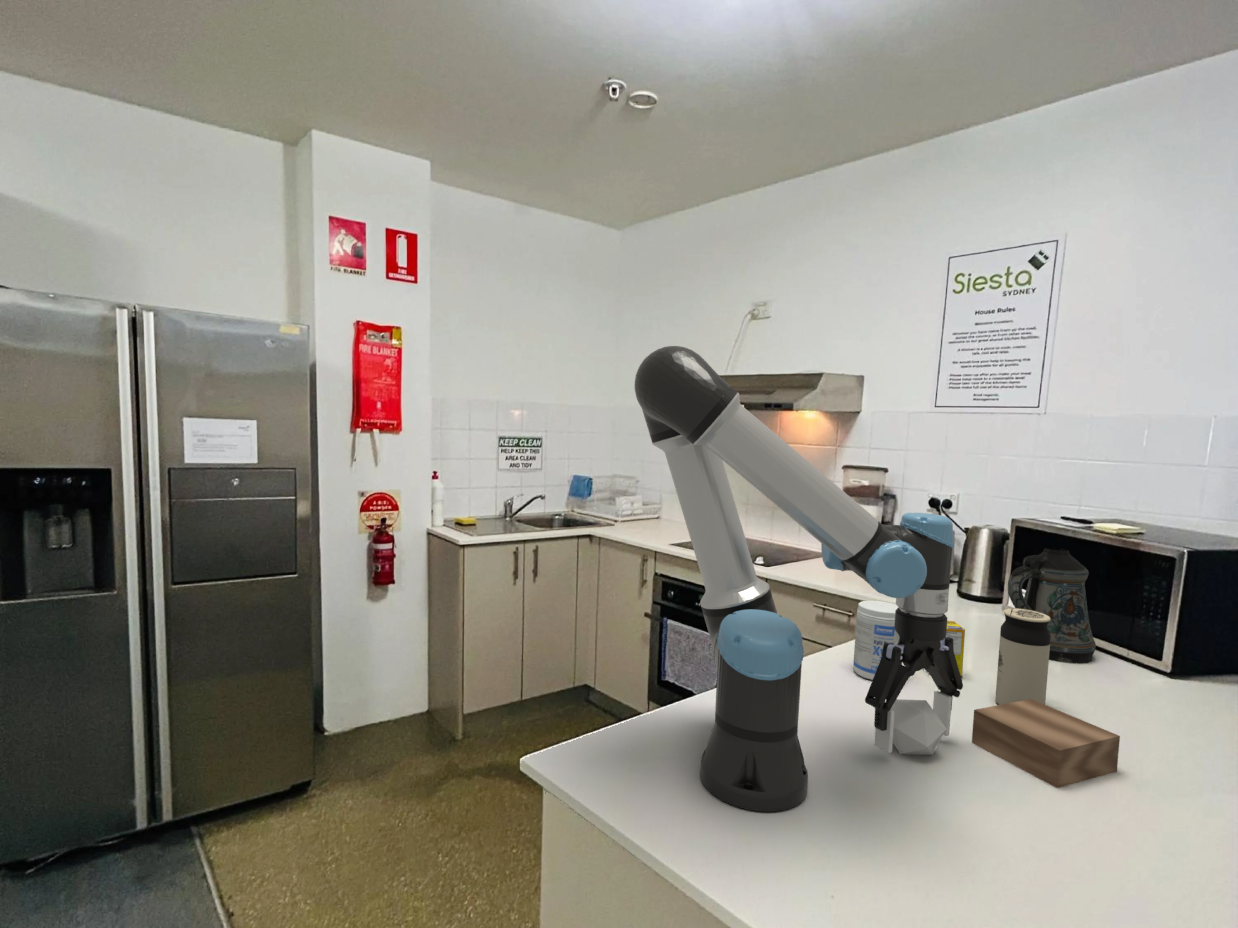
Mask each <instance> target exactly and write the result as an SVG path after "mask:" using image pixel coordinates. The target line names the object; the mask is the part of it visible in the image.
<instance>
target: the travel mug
mask: <svg viewBox="0 0 1238 928" xmlns="http://www.w3.org/2000/svg"><path fill="white" fill-rule="evenodd" d="M1002 611H1003V614H1004V618H1005V620H1004V621H1003V623H1002V624H1001V626H1000V632H999V633H1000V634H999V646H998V647H999V648H998V659H997V660H998V661H997V671H996V673H997V674H996V683H995V685H996V686H995V703H997V705H1002V704H1007V703H1012V702H1018V701H1023V700H1028V699H1033V700H1035V701H1037V702H1040V703H1042V704H1045V705H1046V697H1047V686H1048V676H1049V675H1048V674H1049V661H1050V660H1049V651H1050V639H1051V635H1050V633H1049V631H1048V629H1047V625H1048V622H1049V621H1050V617H1049V616H1047V615H1045V614H1043V613H1040V612H1036V611H1031V610H1026V609H1016V608H1015V607H1014V608H1006V609H1004V610H1002Z"/></svg>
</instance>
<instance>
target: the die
mask: <svg viewBox="0 0 1238 928" xmlns="http://www.w3.org/2000/svg"><path fill="white" fill-rule="evenodd" d="M891 710H893V711H895V713H894V728H893V745H894V747H895V748H896V750H897V752H899V754H900V755H918V756H919V755H921V756H932V755H933V754H934V752H935V750H936V749H937V747H938V746H939V743H940V742H941V740H942V738H943V736H944V733H945V731H946V727H945V726H944V725H943V723H942V722H941V720H940V719H939V718H938V716H937V715H936V713H935V712H934V711H933V707H932V706H931V705H930V704H929V702H928V701H927V700H926V699H898V698H897V699H896V701H895V702H894V704H893V706H892V708H891Z"/></svg>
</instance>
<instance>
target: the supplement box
mask: <svg viewBox="0 0 1238 928" xmlns="http://www.w3.org/2000/svg"><path fill="white" fill-rule="evenodd" d="M946 636H947V637H950V638H953V647H954V654H955V658H956V661H957V665H958V669H959V672H960V676H961V679H962V680H963V669H964V668H963V667H964V653H965V652H964V651H965V637H966V629H965V628H964V627H963V626H961V625H960V624H958V623H957V622H956V621H955V620H947V632H946ZM924 670H925V671H926V673H928V674H929V672H928V670H927V669H924ZM952 679H953V678H952ZM953 680H954V679H953Z"/></svg>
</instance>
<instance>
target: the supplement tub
mask: <svg viewBox="0 0 1238 928" xmlns="http://www.w3.org/2000/svg"><path fill="white" fill-rule="evenodd" d="M857 605H858V606H857V612H856V623H855V633H854V634H855V636H854V650H853V664H852V667H853V671H854V672H855V673H856V674H857V675H858V676H860V677H862V678H863V679H864V678H865V679H868V680H871V681H872V680H873V678H874V675H875V673H876V670H877V668H878V665H879V663H880V660H881V658H882V652H883V646H884V644H885V643H889V644H891V645H897V644H898V642H899V635H898V633H897V632H896V631H895V628H894V625H895V611H896V609H897V608H899V607H898V606H897V605H896V603H895V604H894V603H891V602H885V601H880V600H864V601H860V602H859V603H858V604H857ZM901 665H903V662H902V663H901Z"/></svg>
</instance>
